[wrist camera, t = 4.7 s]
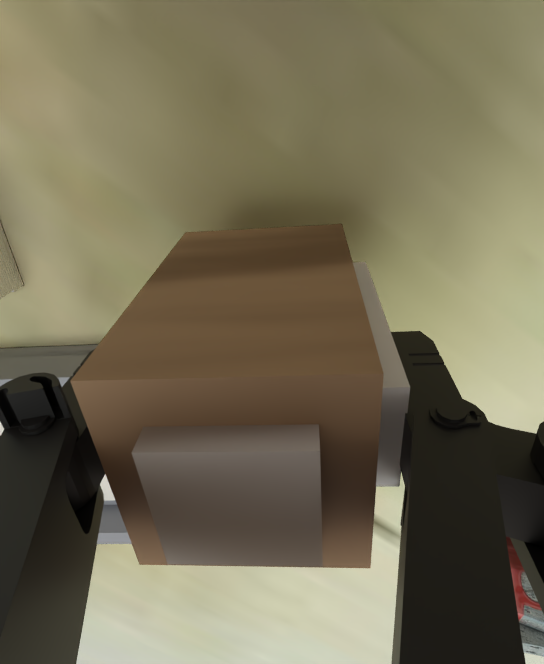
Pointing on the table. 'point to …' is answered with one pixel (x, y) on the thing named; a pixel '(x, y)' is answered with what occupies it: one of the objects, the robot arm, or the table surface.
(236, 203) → the table surface
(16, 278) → the axle mount
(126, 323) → the walnut block
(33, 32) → the table surface
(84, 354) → the chassis bay
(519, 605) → the toy gun
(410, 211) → the table surface
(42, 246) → the table surface
